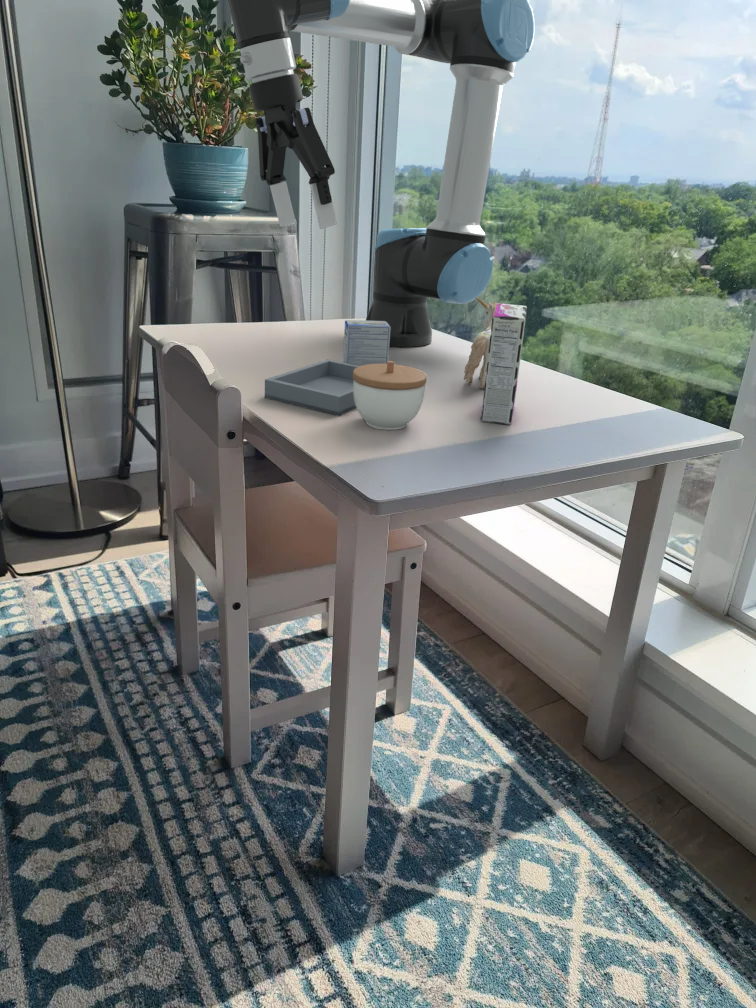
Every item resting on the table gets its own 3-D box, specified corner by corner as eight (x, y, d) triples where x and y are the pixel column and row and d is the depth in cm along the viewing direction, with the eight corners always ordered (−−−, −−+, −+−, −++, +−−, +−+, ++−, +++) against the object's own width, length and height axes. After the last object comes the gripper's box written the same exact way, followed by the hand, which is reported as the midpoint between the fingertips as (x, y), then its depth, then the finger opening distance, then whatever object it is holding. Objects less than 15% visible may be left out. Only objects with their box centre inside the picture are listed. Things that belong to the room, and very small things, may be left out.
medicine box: (383, 366, 145) (386, 320, 142) (387, 372, 141) (391, 325, 138) (342, 365, 144) (344, 319, 140) (345, 372, 140) (347, 324, 136)
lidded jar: (398, 440, 108) (404, 375, 104) (336, 424, 113) (338, 361, 109) (434, 422, 116) (440, 361, 112) (375, 408, 121) (378, 349, 117)
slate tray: (327, 375, 136) (327, 359, 135) (395, 391, 130) (397, 373, 129) (264, 397, 122) (264, 379, 121) (338, 416, 116) (339, 396, 115)
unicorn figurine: (504, 369, 149) (514, 300, 144) (503, 397, 131) (514, 318, 126) (467, 366, 150) (475, 296, 144) (461, 392, 132) (470, 314, 127)
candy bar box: (483, 402, 128) (496, 302, 121) (514, 405, 127) (528, 305, 120) (478, 422, 118) (491, 314, 111) (511, 426, 117) (526, 317, 110)
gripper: (216, 91, 121) (254, 229, 131) (289, 70, 102) (326, 234, 112) (258, 82, 124) (291, 217, 134) (336, 60, 105) (368, 220, 115)
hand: (307, 225), depth 123 cm, fingers open, 13 cm apart
